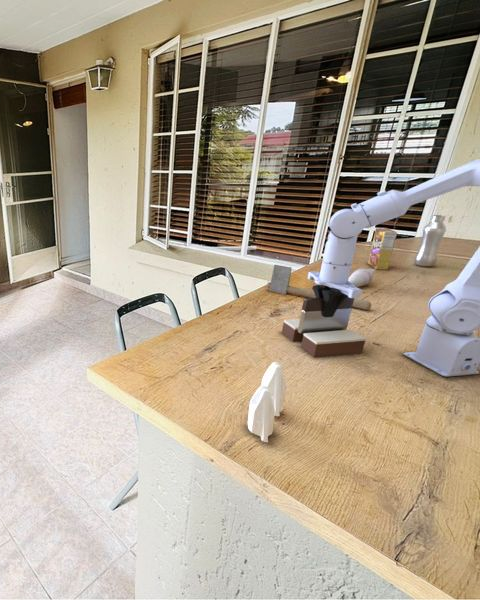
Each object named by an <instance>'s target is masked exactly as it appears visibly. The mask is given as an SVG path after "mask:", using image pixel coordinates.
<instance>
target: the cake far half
mask: <svg viewBox="0 0 480 600" xmlns="http://www.w3.org/2000/svg"><path fill="white" fill-rule="evenodd" d="M299 322H300V318H292V319H284V320H283V324H282V330H281V334H282V335H283V336H284V337H286V338H287V339H288V340H290V341H291V342H302V340H303V336H304V335H303V334H304V333H302V334H300V333H299V332H298V327H299Z"/></svg>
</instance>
